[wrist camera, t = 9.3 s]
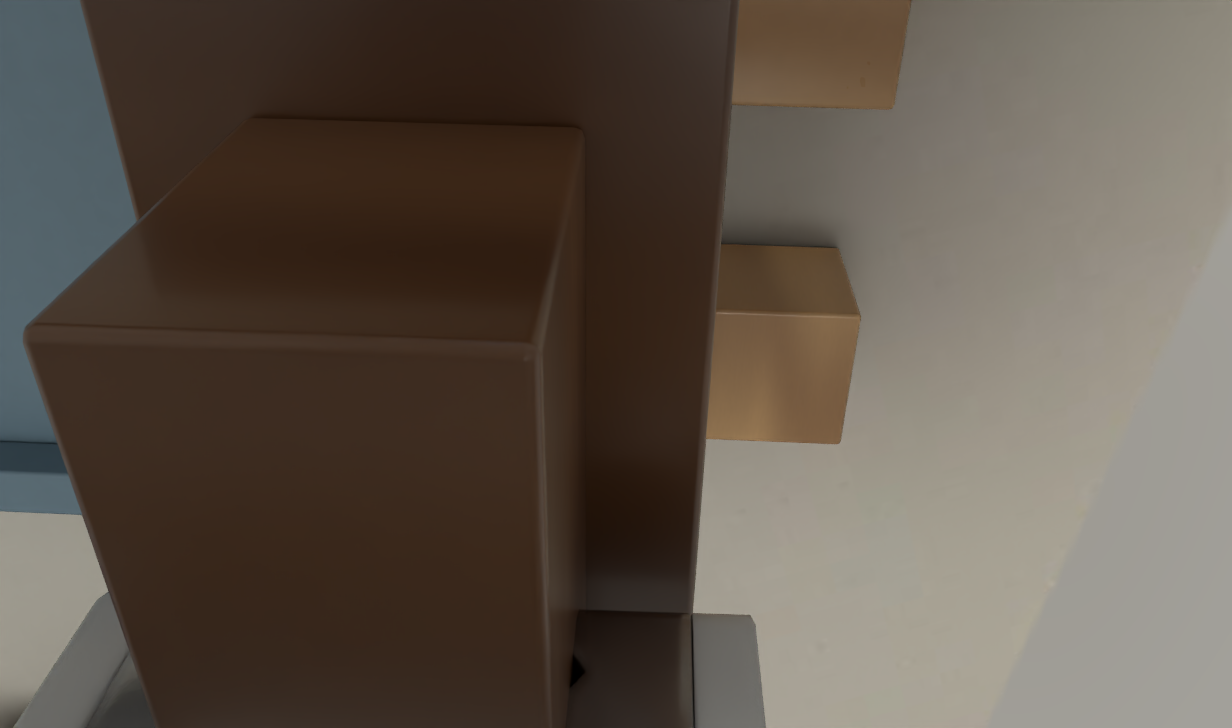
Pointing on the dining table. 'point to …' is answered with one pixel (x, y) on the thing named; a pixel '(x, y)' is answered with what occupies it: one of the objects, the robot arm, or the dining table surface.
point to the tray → (47, 220)
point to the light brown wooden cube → (819, 53)
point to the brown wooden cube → (782, 345)
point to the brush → (394, 346)
